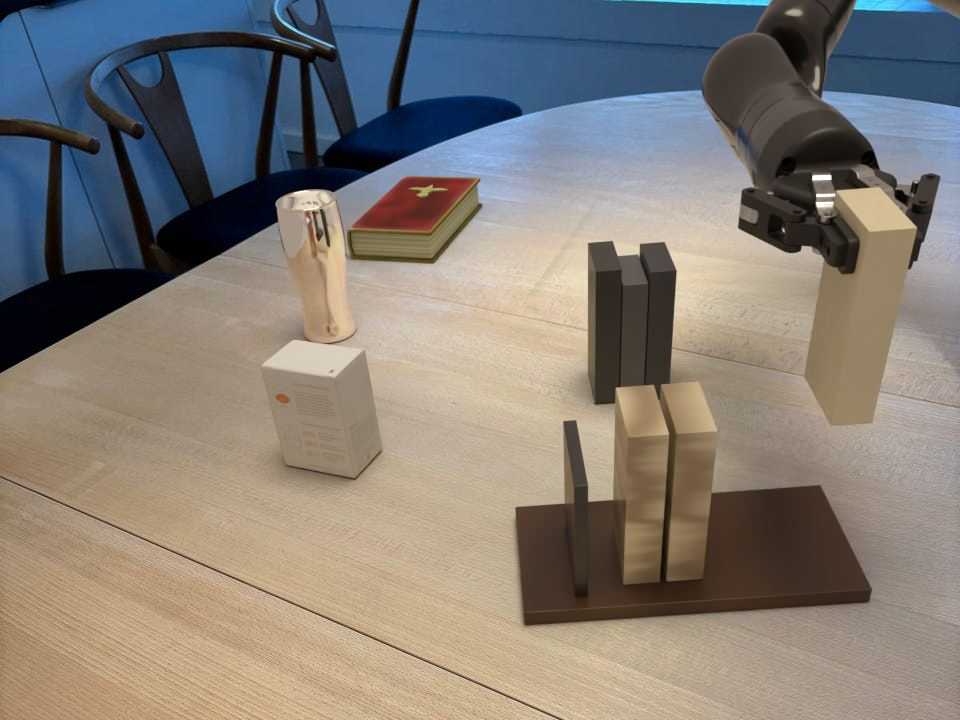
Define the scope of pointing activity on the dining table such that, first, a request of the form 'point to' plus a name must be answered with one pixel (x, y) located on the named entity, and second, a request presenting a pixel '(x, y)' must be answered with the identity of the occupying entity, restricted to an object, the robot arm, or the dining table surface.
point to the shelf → (733, 568)
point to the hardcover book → (415, 219)
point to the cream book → (859, 308)
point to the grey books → (629, 318)
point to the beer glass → (317, 262)
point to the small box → (323, 407)
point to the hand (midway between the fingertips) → (880, 256)
